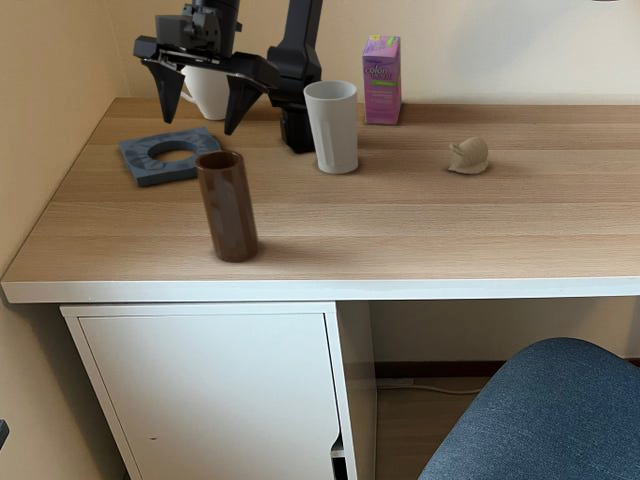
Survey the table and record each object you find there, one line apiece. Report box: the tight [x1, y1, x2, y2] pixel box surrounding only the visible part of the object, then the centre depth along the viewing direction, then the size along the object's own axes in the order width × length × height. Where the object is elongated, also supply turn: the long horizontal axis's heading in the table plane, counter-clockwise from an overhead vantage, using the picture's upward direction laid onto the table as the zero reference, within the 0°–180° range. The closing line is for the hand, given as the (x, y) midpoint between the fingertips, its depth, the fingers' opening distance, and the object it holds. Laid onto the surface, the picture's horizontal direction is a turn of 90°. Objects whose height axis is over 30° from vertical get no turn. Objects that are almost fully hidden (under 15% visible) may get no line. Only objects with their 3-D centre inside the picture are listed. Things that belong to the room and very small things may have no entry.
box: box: [361, 34, 403, 126], centre depth 137 cm, size 10×6×12 cm, turn 179°
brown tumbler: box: [195, 149, 260, 263], centre depth 101 cm, size 6×6×13 cm
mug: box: [180, 48, 235, 121], centre depth 133 cm, size 12×8×11 cm
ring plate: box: [117, 126, 222, 188], centre depth 124 cm, size 14×14×2 cm
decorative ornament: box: [447, 136, 490, 175], centre depth 123 cm, size 4×8×5 cm, turn 130°
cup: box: [304, 79, 359, 175], centre depth 121 cm, size 8×8×12 cm
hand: (197, 129), depth 103 cm, fingers open, 9 cm apart
